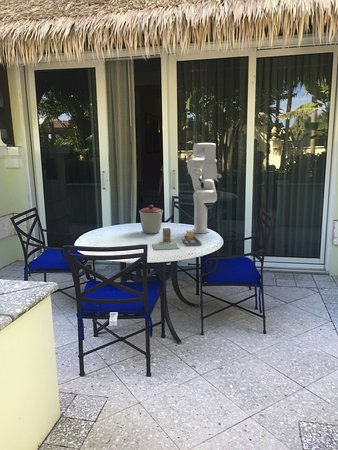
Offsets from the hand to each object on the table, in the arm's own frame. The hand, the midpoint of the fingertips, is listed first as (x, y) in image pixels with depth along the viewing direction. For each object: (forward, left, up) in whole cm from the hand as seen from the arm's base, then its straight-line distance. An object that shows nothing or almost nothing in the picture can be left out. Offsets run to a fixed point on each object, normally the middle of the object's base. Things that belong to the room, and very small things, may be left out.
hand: (209, 187), depth 244 cm
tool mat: (+13, -32, -36) cm, 50 cm away
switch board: (+6, -13, -36) cm, 39 cm away
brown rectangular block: (0, -29, -36) cm, 47 cm away
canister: (-29, -36, -36) cm, 59 cm away
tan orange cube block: (+2, -13, -34) cm, 37 cm away
